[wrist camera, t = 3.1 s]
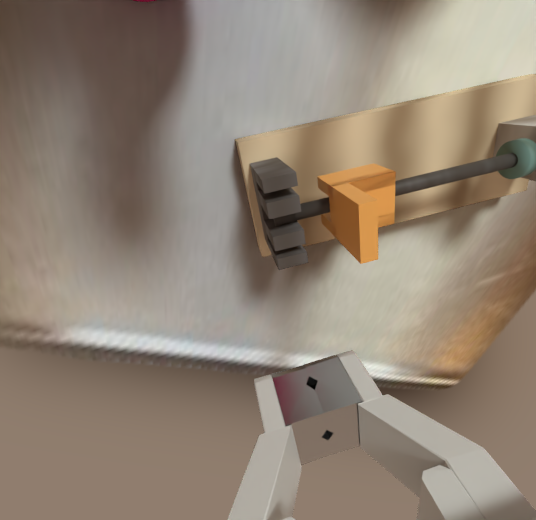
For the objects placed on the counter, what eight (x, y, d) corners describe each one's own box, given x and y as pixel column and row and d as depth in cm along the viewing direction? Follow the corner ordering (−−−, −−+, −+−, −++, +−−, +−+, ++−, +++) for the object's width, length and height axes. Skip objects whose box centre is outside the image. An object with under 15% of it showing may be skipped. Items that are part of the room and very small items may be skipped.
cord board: (529, 74, 25) (648, 65, 18) (506, 184, 29) (595, 210, 22) (235, 139, 23) (248, 155, 16) (258, 246, 27) (276, 294, 20)
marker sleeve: (373, 163, 21) (434, 186, 15) (374, 210, 22) (429, 245, 17) (317, 176, 20) (358, 204, 15) (321, 223, 22) (360, 263, 17)
